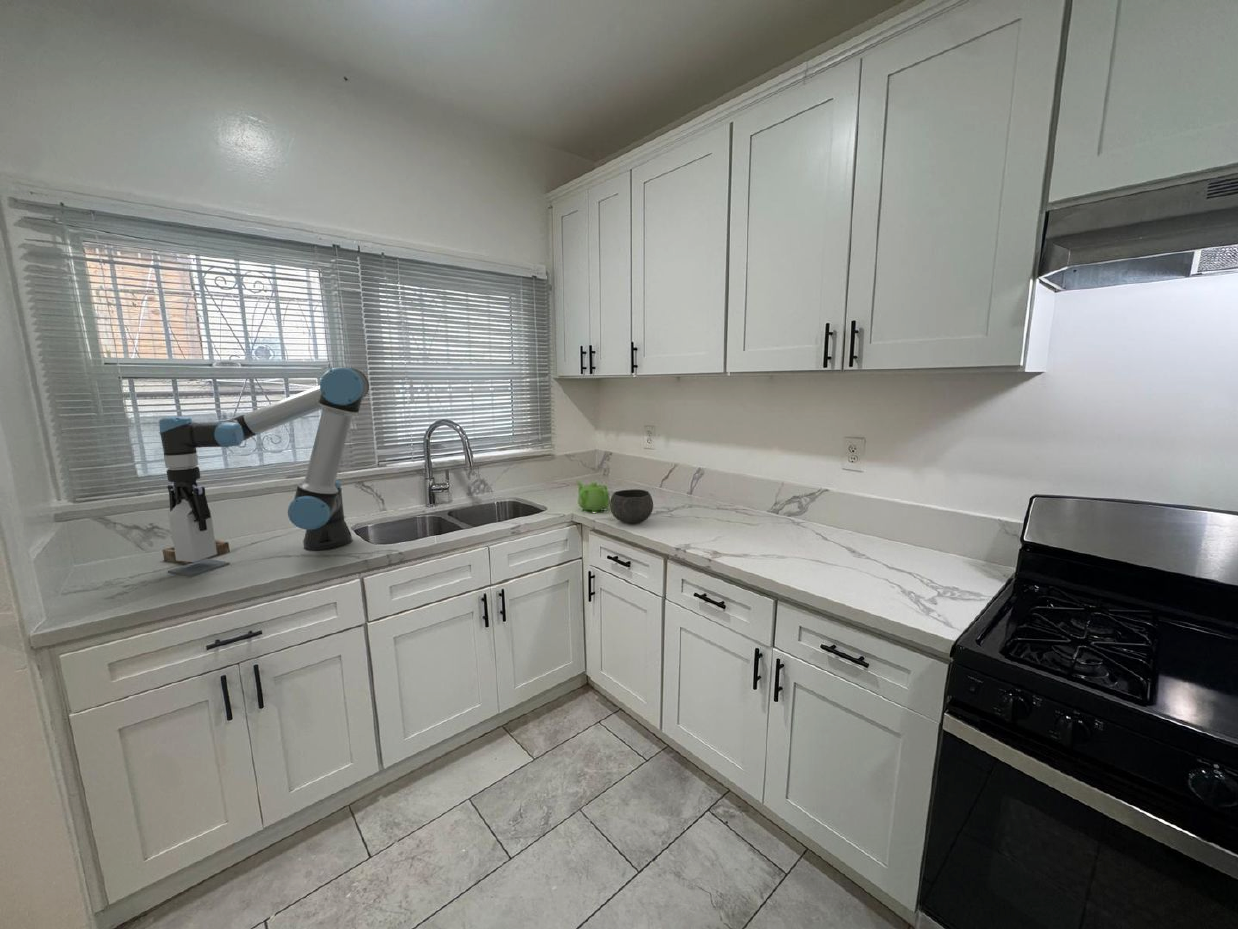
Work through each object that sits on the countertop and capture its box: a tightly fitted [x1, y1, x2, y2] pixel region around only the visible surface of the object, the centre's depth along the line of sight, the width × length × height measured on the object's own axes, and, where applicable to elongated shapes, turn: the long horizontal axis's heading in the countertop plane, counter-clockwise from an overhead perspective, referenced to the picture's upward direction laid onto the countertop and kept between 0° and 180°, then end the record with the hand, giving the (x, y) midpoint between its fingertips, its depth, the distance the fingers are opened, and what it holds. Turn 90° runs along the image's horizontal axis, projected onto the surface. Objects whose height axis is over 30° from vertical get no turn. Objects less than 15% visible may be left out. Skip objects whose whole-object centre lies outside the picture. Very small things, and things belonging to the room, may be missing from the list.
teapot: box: [575, 480, 611, 513], centre depth 219 cm, size 16×14×13 cm
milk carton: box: [168, 499, 217, 562], centre depth 152 cm, size 7×7×19 cm
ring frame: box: [162, 539, 231, 565], centre depth 165 cm, size 12×12×4 cm
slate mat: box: [167, 558, 230, 578], centre depth 154 cm, size 11×11×1 cm
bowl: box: [609, 488, 654, 525], centre depth 200 cm, size 18×18×13 cm
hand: (194, 539), depth 152 cm, fingers closed on milk carton, 8 cm apart
